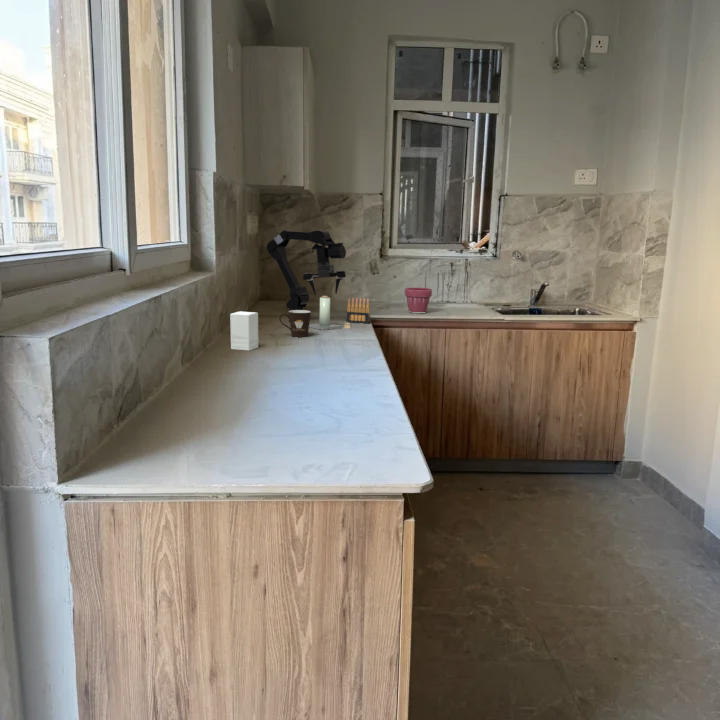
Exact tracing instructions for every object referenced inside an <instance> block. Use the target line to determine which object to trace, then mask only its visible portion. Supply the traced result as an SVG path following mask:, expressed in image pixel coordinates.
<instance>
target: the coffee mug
mask: <svg viewBox="0 0 720 720" xmlns="http://www.w3.org/2000/svg"><path fill="white" fill-rule="evenodd" d="M311 313H312V312H311V311H310V310H305V309H304V310H291V311H289V310H288V314H287V313H282V314H281V315H279V317H278V318H279V322H280V324H282V325H283V326H284V327H286V328H287V329H289V331H290V333H291V334H290V335H291V338H294V337H298V338H297V339H303V338H302V337H306V338H308V337H307V336H308V335H309V330H310V328H309V324H310V321H311ZM284 316H285V317H287V318H288V321H289V320H290V322H289V325H290V326H288V325H287V324H285V323H284V322H283V321H282V317H284ZM300 337H301V338H300Z"/></svg>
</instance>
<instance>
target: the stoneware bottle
mask: <svg viewBox="0 0 720 720" xmlns="http://www.w3.org/2000/svg"><path fill="white" fill-rule="evenodd" d="M318 319H319V320H318V321H319V325H320V326H330V324H331V323H330V322H331V320H330V319H331V297H329V296H328V295H321V296H320V297H319V318H318Z"/></svg>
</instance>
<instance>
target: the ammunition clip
mask: <svg viewBox="0 0 720 720" xmlns="http://www.w3.org/2000/svg"><path fill="white" fill-rule="evenodd" d="M346 309H347V310H346V319H345V320H346V321H345V323H346V322H349V323H350V324H360V323H363V324H364V325H369V324H370V321H371V320H370V299H369V297H367V299H366V298H365V297H363V299H362V297H359V298H358V297H356V298H355V297H354V296H353V297H352V299H351V297H350V296H349V297H348V299H347V308H346Z"/></svg>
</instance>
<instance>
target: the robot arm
mask: <svg viewBox="0 0 720 720" xmlns="http://www.w3.org/2000/svg"><path fill="white" fill-rule="evenodd" d="M290 240H298V241H309V242H310V243H313V244H314V245H313V246H312V247H311V250H315V253H316V265H317V266H316V268H317V269H316V271H317V273H313V272H304V273H303V275H302V279H303V281H305V282H308V283H309V284H310V286H311V288H312V291H313V294H314V296H317V293H316V288H315V281H314V279H321V278H333V277H335V291H334V293H335V295H337V294H338V293H337V292H338V290H339V286H340V282H341V280H344V278H346V271H345V270H336V271H335V268H334V265H333V264H331V262H330V260H337V259H339V260H340V259H345V258H346V256H347V251H346V247H345V246H344V243H343V242H337V243H336V242H335V241H334V240H333V238H332V237H331V233H330V232H329V231H327V230H312V231H296V230H295V231H294V230H285V229H284V230H281V232H280V233H278V234H277V236H275V237H274V238H272V240H270V241H269V242H267V244H266V247H265V248H266V251H267V253H268V254H269V256H270V257H271V258H272V259H273V260H274V261H276V264H277V266H278V268H279V270H280V272H281V274H282V275H283V277H284V280H285V282H286V285H287V286H288V289H289V298H290V299H289V300H288V301H287V302H286V304H285V305H286V308H287V309H289V310H288V312H289V311H291V310H305V309H304V308H306V307H307V304H308V303H309V301H310V293H309V291H308V290H307V286H302V285H300V283H299V281H298V279H297V277H296V275H295V273H294V270H293V268H292V266H291V264H290V262H289V260H288V258H287V250H286V247H288V245H289V243H290ZM288 323H290V320H289V319H288Z"/></svg>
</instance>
